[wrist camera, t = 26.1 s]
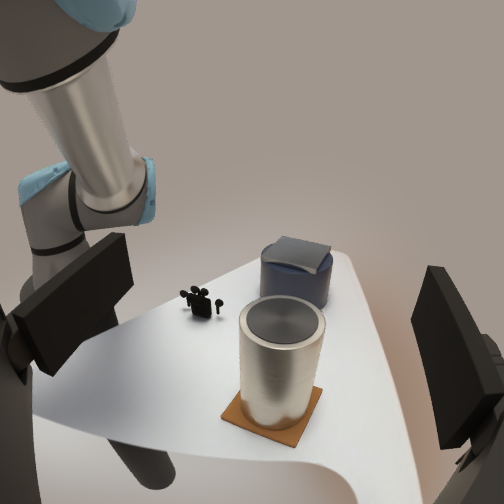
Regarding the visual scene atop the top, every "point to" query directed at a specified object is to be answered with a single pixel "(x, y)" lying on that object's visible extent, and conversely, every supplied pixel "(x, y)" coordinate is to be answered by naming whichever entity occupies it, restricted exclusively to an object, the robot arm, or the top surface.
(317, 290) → the navy cylinder with lid
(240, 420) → the mat
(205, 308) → the wireless earbuds
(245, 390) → the cup
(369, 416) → the top surface
